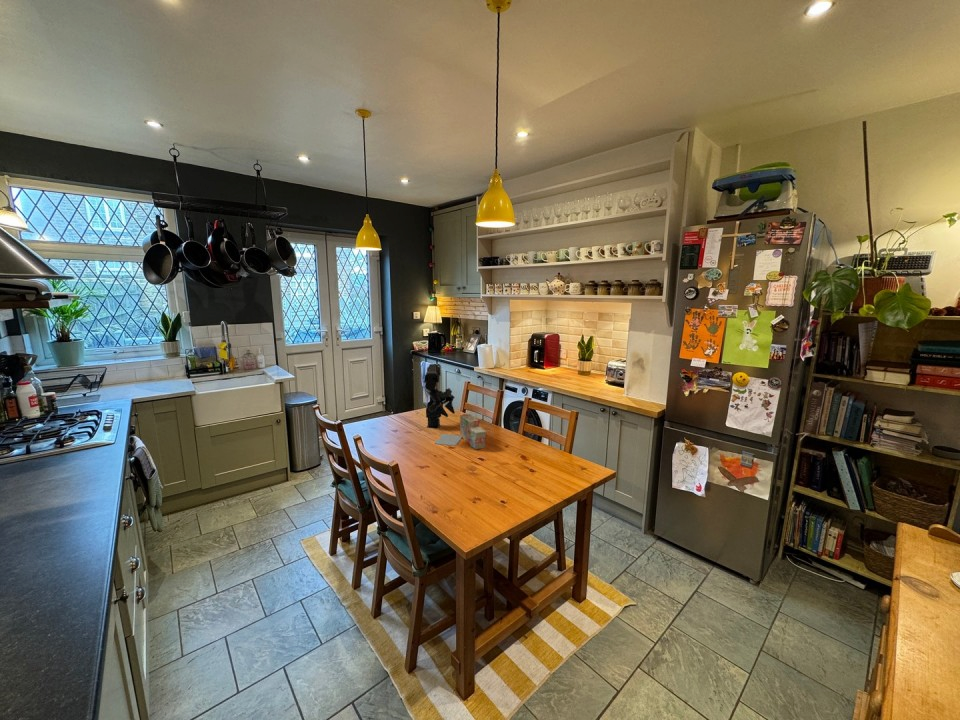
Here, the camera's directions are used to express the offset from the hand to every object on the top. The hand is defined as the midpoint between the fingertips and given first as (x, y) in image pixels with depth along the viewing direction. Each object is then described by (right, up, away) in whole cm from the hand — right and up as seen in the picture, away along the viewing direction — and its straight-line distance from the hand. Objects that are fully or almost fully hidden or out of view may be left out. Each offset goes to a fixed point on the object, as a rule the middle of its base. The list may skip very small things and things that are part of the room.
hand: (451, 415), depth 216 cm
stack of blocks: (+12, -14, -3) cm, 19 cm away
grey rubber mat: (-1, -14, 0) cm, 14 cm away
